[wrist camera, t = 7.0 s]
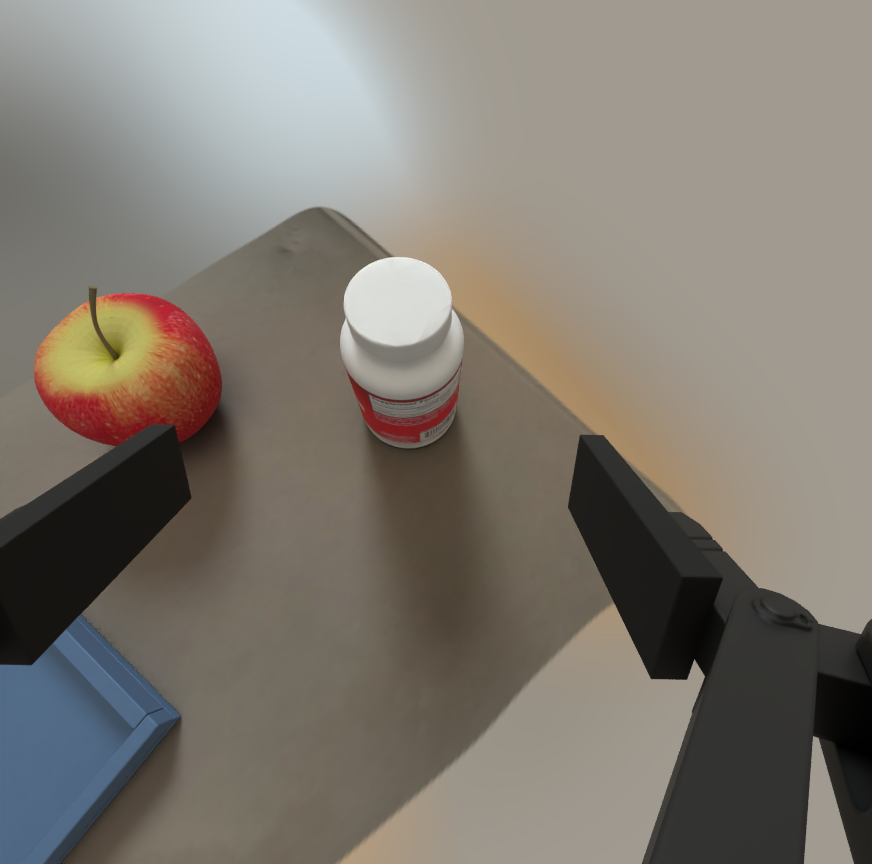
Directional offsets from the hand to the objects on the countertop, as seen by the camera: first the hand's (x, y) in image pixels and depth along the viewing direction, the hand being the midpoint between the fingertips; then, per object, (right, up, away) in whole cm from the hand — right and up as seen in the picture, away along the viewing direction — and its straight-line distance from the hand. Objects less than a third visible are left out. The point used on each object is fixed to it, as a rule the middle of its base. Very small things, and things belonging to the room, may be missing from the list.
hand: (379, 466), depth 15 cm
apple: (-15, +3, +15) cm, 21 cm away
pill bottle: (0, +3, +15) cm, 15 cm away
